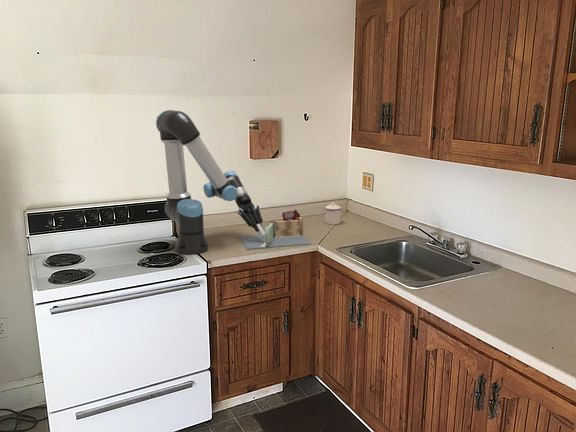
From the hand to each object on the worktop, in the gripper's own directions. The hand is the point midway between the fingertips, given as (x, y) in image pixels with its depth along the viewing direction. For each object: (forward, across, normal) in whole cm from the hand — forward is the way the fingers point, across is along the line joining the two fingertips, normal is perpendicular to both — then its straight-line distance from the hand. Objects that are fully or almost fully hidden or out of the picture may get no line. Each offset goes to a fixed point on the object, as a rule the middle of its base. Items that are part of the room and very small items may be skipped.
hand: (263, 236), depth 249 cm
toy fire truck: (-3, -28, -9) cm, 29 cm away
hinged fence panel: (+4, -2, 0) cm, 4 cm away
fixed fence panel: (+3, -15, -2) cm, 16 cm away
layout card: (+3, -7, -2) cm, 8 cm away
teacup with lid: (0, -54, -5) cm, 54 cm away
